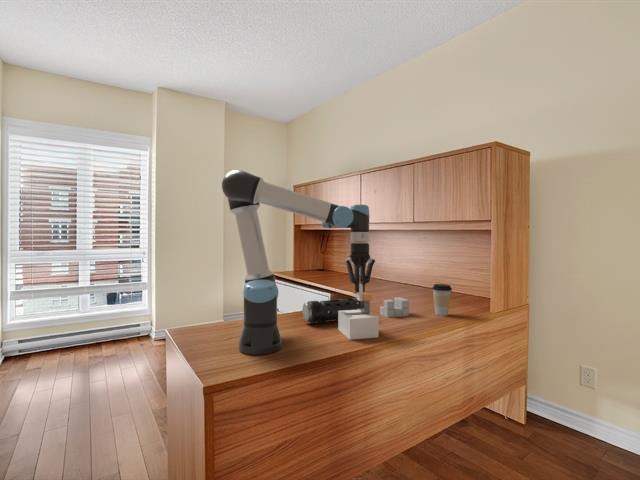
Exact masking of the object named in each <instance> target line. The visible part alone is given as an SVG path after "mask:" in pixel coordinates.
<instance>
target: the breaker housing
mask: <svg viewBox="0 0 640 480" xmlns="http://www.w3.org/2000/svg"><path fill="white" fill-rule="evenodd" d="M379 321H380V319H379V316H377V314H375V313H373V312H371V311H370V313H363V312H361V311H360V308H359V309H357V310H342V311H338V321H337V322H338V324H337V326H338V327H337V328H338V331H340V332H341V333H342V334H343V335H344V336H345V338H347V339H348V340H361V339H362V340H363V339H364V340H365V339H373V338H374V339H375V338H379V331H380V330H379Z"/></svg>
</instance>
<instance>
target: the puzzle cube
mask: <svg viewBox="0 0 640 480" xmlns="http://www.w3.org/2000/svg"><path fill="white" fill-rule="evenodd" d="M409 306H410V300H409V299H407V298H403V297H402V296H401V297H400V296H399V297H394V299H393V300H392V299H384V300H383V306H381V305H380V306H379V314H380V315H382V316H384V317H386V318H397V317H408V316H409V314H410V310H409V309H410V307H409Z"/></svg>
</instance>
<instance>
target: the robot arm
mask: <svg viewBox="0 0 640 480" xmlns="http://www.w3.org/2000/svg"><path fill="white" fill-rule="evenodd" d="M221 188H222V192H223V194H224V196H225V197H227V202H228V206H229V210H230V212H231V213H233V214H234V215H235V220H236V224H237V230H238V234H239V240H240V243H241V249H242V253H243V254H242V255H243V259H244V263H245V268H246V273H247V275H246V276H245V277H244V282H245V284H244V287H243V293H242V294H243V328H242V331H241V334H240V338H239V340H238V350H239V352H241V353H242V354H245V355H252V356H258V355H259V356H261V355H268V354H272V353H276V352H279V350H281V349H282V347H283V341H282V336H281V333H280V331H279V327H278V297H279V288H278V285H277V283H276V278H275V274H274V272H273V271H271V269H270V268H269V264H268V258H267V252H266V248H265V243H264V239H263V233H262V230H261V224H260V220H259V213H258V210H259V208H260V207H261V204H262V205H265V206H266V205H267V206H270V207H272V208H276V209H280V210H282V211H286V212H289V213H293V214H295V215H299V216H302V217H305V218H309V219H311V220H314V221H318V222H321V226H322V228H324V229H350V242H351V243H350V255H349V258H347V259H345V260H344V261H343V262H344V264H345V265H346V268H347V272H348V277H349V280H350V283H352V284H354V292H355V293H356V298H357V300H359V301H363V293H364V292H366V291H365V290H366V288H365V287H366V284H369V282H370V281H371V280H370V279H371V275H372V270H373V267H374V265H375V263H376V260H375V258H374V259H373V258H371V255H370V243H369V242H370V207H369V205H367V204H351V205H350V207H348V206H345V205H338V204H335V203H331V202H328V201H325V200H322V199H319V198H316V197H313V196H311V195H306V194H303V193H300V192H297V191H294V190H290V189H288V188H285V187H281V186H279V185H275V184H272V183H270V182H266V181H265V180H264V179H263V178H262V177H260V176H257V175H254V174H251V173H249V172H247V171H244V170H241V169H233V170H231V171H229V172H227V173H226V174H225V175H224V177H223V179H222V181H221ZM352 263H353V266H352ZM353 268H354V269H353Z"/></svg>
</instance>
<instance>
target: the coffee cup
mask: <svg viewBox="0 0 640 480" xmlns="http://www.w3.org/2000/svg"><path fill="white" fill-rule="evenodd" d="M431 288H432V291H433V293H432V296H433V305H434V313H435V315H436V316H438V315H439V316H440V317H447V316H449V308H450V301H451V291H453V288H452V286H451V285H449V284H445V283H444V284H443V283H436V284H433V286H432V287H431Z"/></svg>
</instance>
